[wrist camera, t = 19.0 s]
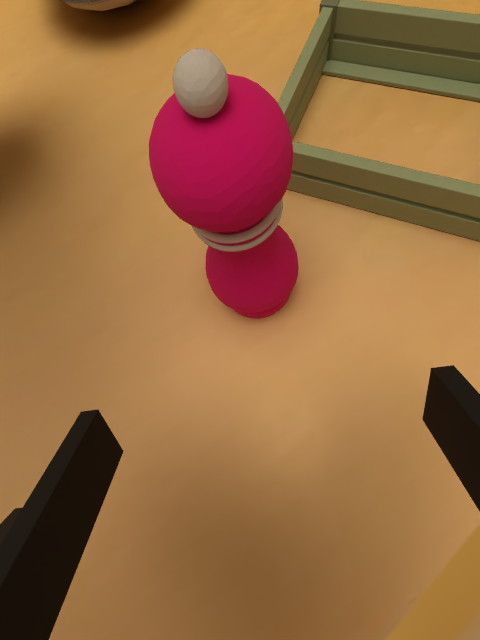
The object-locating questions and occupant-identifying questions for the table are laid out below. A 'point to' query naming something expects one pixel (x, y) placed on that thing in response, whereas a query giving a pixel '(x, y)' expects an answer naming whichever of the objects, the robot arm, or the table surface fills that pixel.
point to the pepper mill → (228, 180)
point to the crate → (397, 71)
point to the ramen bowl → (97, 4)
